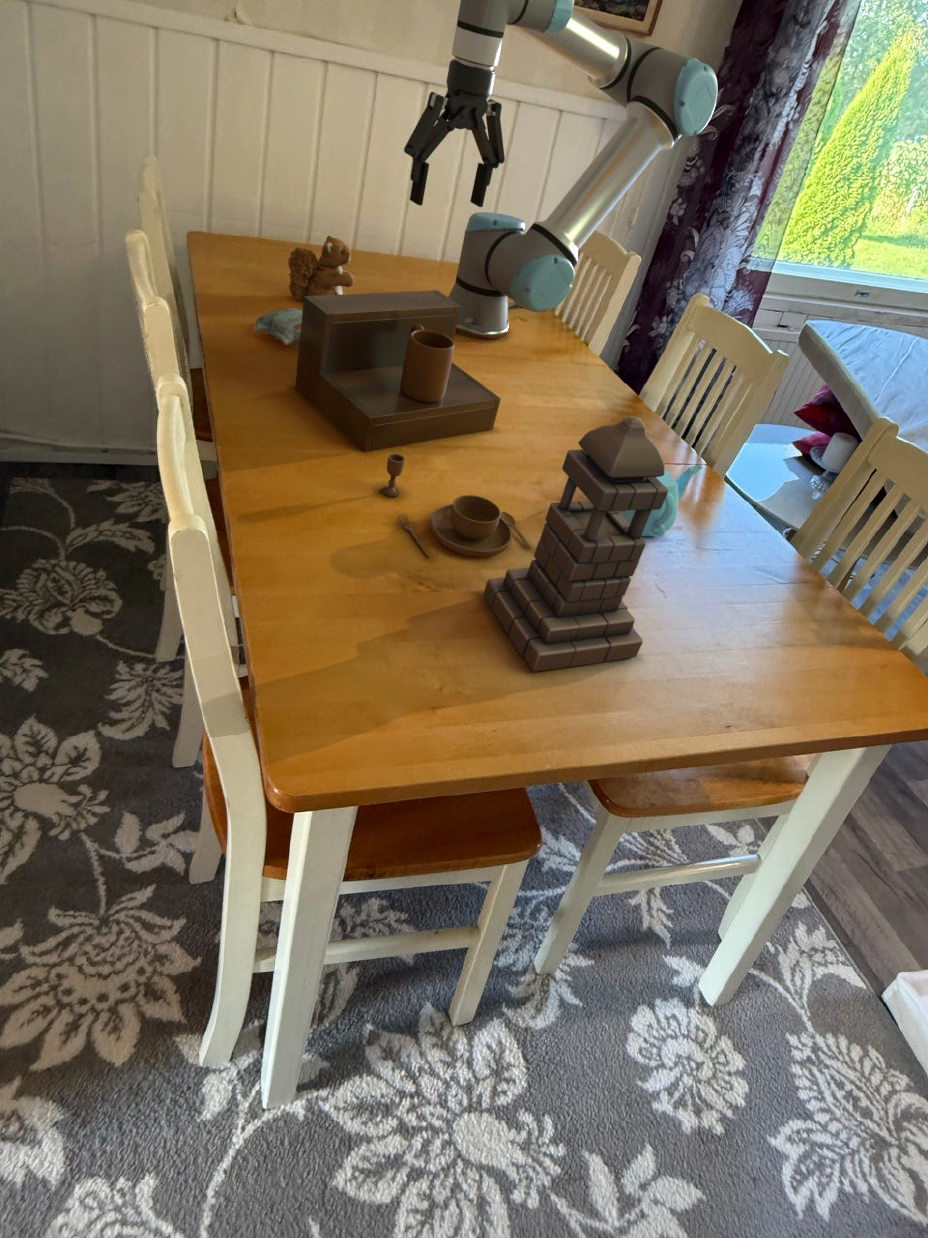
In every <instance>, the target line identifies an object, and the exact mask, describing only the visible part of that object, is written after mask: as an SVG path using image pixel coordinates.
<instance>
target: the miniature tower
mask: <svg viewBox="0 0 928 1238" xmlns="http://www.w3.org/2000/svg"><path fill="white" fill-rule="evenodd" d="M647 434H648V433H647V431H646V425H645V423H644V421H643V420H642V419H641V418H640V417H638V416H626V417H625V418H623V419H622V420H621V421H619V422H618V423H614V424H605V425H601V426H599V427H596V428H593V429H591V430H589V431H587V432H586V433H585V434H584V435H583V436H582V437H581V438H580V440H578V442H577V443H578V445H579V446H580V449H569V450H568V451H567V452H566V455H565V459H564V461H563V464H562V467H561V469H562V471H563V473H565V475H566V476H567V480H566V483H565V485H564V489H563V492H562V495H561V498H560V500H559V502H551V503H550V504H549V507H548V510H547V514H546V516H545V524H544V525H543V529H542V532H541V534H540V537H539V540H538V542H537V545H536V547H535V551H534V553H533V557H534V558H535V559H531V562H530V565H529V566H528V567H516V568H507V570H506V572H505V575H504V576H503V577H502V576H501V577H493V578H488V579H487V581H486V584H485V587H484V591H483V594H482V597H483V598H484V600H485V601H486V603H487V604H488V606H489V607H490V608H491V610H492V612H493V614H494V616H495V617H496V618H497V620H498V622H499V623H500V624H501V626H502V628H503V629H504V631H505V633H506V634H507V636H508V637H509V639H510V640H511V642H512V643H513V645H514V647H515V648H516V650H517V651H518V653H519V655H520V656H521V657H523V659H524V660H525V661H526V663H527V665H528V666H529V667H530V669H531V671H532V672H541V671H542V672H543V671H549V670H556V669H563V668H569V667H577V666H583V665H590V664H597V663H598V664H599V663H603V662H611V661H618V660H626V659H632V658H637V656H638V653H639V651H640V649H641V647H642V645H643V643H644V639H643V638H642V637H641V635H640V634H639V633H638V632H637V631H636V629H635V628H634V627H635V626H634V624H635V622H636V618H635V617H634V616H633V615H632V613H630V611H629V610H628V607H627V605H626V604H625V602H623V598H624V596H625V595H626V593H627V591H628V588H629V586H630V583H631V581H632V579H631V577H633V576H634V574H635V573H636V569H637V567H638V565H639V563H640V559H641V557H642V554H643V552H644V550H645V547H646V545H647V541H646V540H645V538H643V537H642V536H641V535H642V532H643V530H644V528H645V525H646V523H647V520H648V518H649V516H650V513H651V511H652V510H658V509H661V508H662V505H663V503H664V501H665V498H666V496H667V494H668V489H667V488H666V487H665V486H664V485H663V484H662V483H661V482H660V481H659V480H658V479H657V478H656V477H660V476H664V474H665V469H666V463H665V460H664V457H663V456H662V453H661V451H660V449H659V448H658V446H657V445H656V443H655V442H654V441H653V440H652V439H651V438H650V437H649V435H647ZM577 489H579V490H580V492H581V493H582V495H584V496H585V497H586V499H587V500H573V499H574V497H575V493H576V491H577ZM627 510H636V511H635V513H634V516H633V518H632V521H631V523H630V524H629V522H628V521H627V520H626V519H625V518H624V517H623V516H622V515H621V514H619V511H627Z"/></svg>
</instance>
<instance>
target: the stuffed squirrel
mask: <svg viewBox="0 0 928 1238" xmlns="http://www.w3.org/2000/svg"><path fill="white" fill-rule="evenodd" d="M289 254H290V257H289V258H288V260H287V261H288V263H287V264H288V267H289V272H290V273H288V275H289V279H290V281H289V285H288V290H289V292H290V294H291V295H292V297H294V299H296V301H297V302H301V303H303V302H304V296H321V295H344V294H345V292H343V287H346V288H350V287H352V286H353V285H354V284H355V277H354V275H353V274H352V273H351V272H350V271H347V270H345V269H343V267H344V266H347V265H348V267H349V268H351V260H352V254H353V252H352V249H351V248H350V247H349V245H348V244H346V243H345V241H343V240H341V239H339V238H336V237H333V236H332V235H327V236H326V239H325V241H324V243H323V245H322V248H321V255H320V257H319V259H318V258H317V255H316V251H315V250H312V249H310V248H309V247H308V248H306V247H304V248H303V247H301V246H300V247H298V246H296V247H295V248H294V250H292V251H290V253H289Z"/></svg>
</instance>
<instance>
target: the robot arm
mask: <svg viewBox="0 0 928 1238" xmlns="http://www.w3.org/2000/svg"><path fill="white" fill-rule="evenodd" d="M574 7H575V0H460V3H459V7H458V14H457V21H456V26H455V31H454V36H453V43H452V48H451V54H452V56H453V57H454V58H453V59H451V61H449V65H448V70H447V76H446V88H447V90H446V93H445V95H444V96H443V95H441V94H439V93H437V92H435V91H431V92H430V93H429V94H428V97H427V102H426V107H425V108H424V110H423V112H422V114H421V115H420V118H419V119H418V122H417V123H416V125H415V127H414V128H413V131H412V133H411V134H410V136H409V138H408V140H407V142H406V144H405V146H404V147H403V152H404V154H406V155H408V156H409V157H411V158H412V165H411V171H410V181H412V183H411V190H410V195H409V201H410V202H412V203H414V204H415V205H417V206H423V204H424V197H425V192H426V186H427V181H428V174H429V169H430V163H429V162H427V160H428V159H429V158H430V157H431V155H432V154H433V153H434V151H435V150H436V149H437V148H438V147H439V145H440V144H441V143H442V142H443V140H445V138H446V137H447V136H448V135H449V134H450V132H453V131H454V130H455V129H457V130H464V129H465V130H467V131H471V133H472V136H473V139H474V141H475V143H476V147H477V149H478V152H479V155H480V158H481V160H482V162H477V167H476V172H475V177H474V182H473V185H472V191H471V196H470V200H469V202H470V203H471V204H473V205H475V206H476V207H478V208H483V207H484V202H485V198H486V193H487V190H488V189H487V188H488V187H489V186H490V184H491V181H492V176H493V171H494V169H495V170H496V169H498V168H499V166H500V164H504V163H505V162H506V161H505V160H506V158H505V149H504V148H505V147H504V140H503V129H502V123H501V122H502V121H501V115H502V108H503V105H502V103H501V102H499V101H496V100H494V99H492V98H490V99H488V98H489V97H490V96H491V95H492V93H493V89H494V83H495V79H496V78H495V77H496V71H495V70H494V68H496V67H497V66H498V63H499V59H500V54H501V49H502V44H503V38H504V36H505V35H504V34H505V30H506V27H508V28H510V29H512V30H513V31H515V32H516V33H518V34H520V35H522V36H523V37H525V38H526V39H528V40H530V41H532V42H533V43H535V44H536V45H538V46H539V47H541V48H542V49H545V50H546V51H548V52H550V53H551V54H553V55H554V56H556V57H558V58H559V59H561V60H562V61H564V62H566V63H567V64H569V65H571V66H573V67H574V68H576V69H577V70H579V71H581V72H583V74H586V76H587V80H588V81H589V83H590V84H591V85H592V86H594V87H595V88H597V89H598V90H600V91H602V92H603V93H604V94H606V96H608V97H610V98H611V99H612V100H613V101H615V102H616V103H617V104H618V105H620V106H621V107H623V108H624V109H625V110H626V119H625V120H624V122H622V124H621V125H620V126H619V128H618V129H617V130H616V131H615V132H614V134H613V135H612V136H611V138H610V139H609V140H608V142H606V144H605V145H604V147H603V148H602V149H601V150H600V152H598V153H597V155H596V156H595V158H594V159H593V160H592V162H591V163H590V164H589V165H588V166H587V167H586V169H585V170H584V171H583V173H582V174H581V175H580V176H579V178H578V179H577V180H576V181H575V183H574V184H573V185H572V187H571V188H570V189H569V190H568V192H567V193H566V194H565V196H564V197H563V198H562V199H561V200H560V201H559V202H558V204H557V205H556V207H555V208H554V209H553V211H552V212H551V213H550V214H549V216H548V217H547V218H546V219H545V220H542V221H541V220H540V221H534V222H533V223H532V224H531V226H530V227H529V228H528V229H527V230H526V222H525V221H524V220H523V219H521V218H518V217H516V216H513V215H507V214H503V213H498V212H497V213H496V212H488V211H479V212H474V213H472V214H471V215H470V216H469V218H468V221H467V225H466V228H465V230H464V235H463V241H462V246H461V250H460V256H459V261H458V266H457V272H456V277H455V281H454V285H453V286H452V288H451V290H450V292H449V294H448V296H447V297H448V298H450V299H451V300H453V301H454V302H456V303H457V304H459V305H460V306H461V308H460V313H459V317H458V322H457V327H456V331H455V333H457V334H460V335H463V336H467V337H468V338H469V337H470V338H474V339H478V340H479V339H480V340H489V341H490V340H491V341H492V340H500V339H502V338H505V337H506V336H507V334H508V331H509V327H510V320H509V308H513V307H522V308H524V309H526V310H528V311H529V312H533V313H542V312H543V313H545V312H548V311H551V310H553V309H555V308H556V307H557V306H559V305H560V304H561V303H563V302H564V300H565V299H566V298H567V297H568V295H569V293H570V292H571V290H572V288H573V284H572V283H574V282H575V267H576V266H577V265H578V263H579V257H578V252H579V250H580V249H581V248H582V246H583V245H584V244H585V243H586V241H587V240H588V239H589V238H590V237H591V236H592V235H593V233H594V232H595V231H596V230H597V228H598V227H599V225H601V223H602V222H603V220H605V218H606V217H607V216H608V214H609V213H610V212H611V211H612V209H614V207H615V206H616V205H617V204H618V202H619V201H620V200H621V198H622V197H623V196H624V195H625V193H626V192H627V191H628V190H629V188H631V186H632V185H633V184H634V182H635V181H636V180H637V179H638V177H639V176H640V175H641V174H642V172H643V171H644V170H645V169H646V168H647V166H648V165H649V164H650V162H651V161H652V160H653V159H654V158H655V156H656V155H658V153H659V152H660V151H669V150H671V149H672V148H673V147H674V145H675V144H676V143H677V142H678V141H679V139H680V138H681V137H693V136H696V135H698V134H700V133H701V132H702V131H703V130H704V129H705V128H706V126H708V123H709V122H710V120H711V118H712V116H713V114H714V111H715V108H716V105H717V98H718V94H719V93H718V92H719V91H718V89H719V88H718V86H719V85H718V79H717V76H716V73H715V71H714V70H713V68H712V67H711V66H710V65H708V64H706V63H704V62H701V61H700V60H699V59H698V58H697V57H689V56H686V55H682V54H680V53H676V52H675V51H672V50H668V49H666V48H664V47H661V46H658V45H655V44H650V43H647V42H643V41H639V40H636V39H634V38H631V37H628V36H626V35H625V34H623V33H622V32H620V31H617V30H610V31H607V30H606V29H605V28H603V27H601V26H600V25H598V24H597V23H595V22H594V21H592V20H591V19H589V18H588V17H586V16H585V15H583V14H582V13H581V12H579V11H577V10H576V9H574ZM484 116H485V120H486V121H484ZM485 122H486V123H485ZM525 230H526V232H525ZM509 299H510V300H512V301H513V302H511V303H509V301H508V300H509Z"/></svg>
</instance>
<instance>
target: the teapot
mask: <svg viewBox="0 0 928 1238" xmlns="http://www.w3.org/2000/svg"><path fill="white" fill-rule="evenodd" d="M702 469H703V466H701V465H692V466H690V467H688V468H687V469H685V470H684V471H683V473H681V474H680V476H679V477H678V478H677V479H676V478H675V477H674V476H673V475H672V473H671V472H670V471H668V470H667V469H666V468H665V474H664V476H660V477H656V478H657V479H658V480H659V481H660V482H661V483H662V484H663V485H664V486H665V487H666V488H667V489H668V494H667V496H666V498H665V501H664V503H663V505H662V508H661V509H658V510H652V511H651V513H650V516H649V518H648V520H647V523H646V525H645V528H644V530H643V532H642V535H641V537H642V536H644V537H645V536H648V537H652V538H657V537H658V538H660V537H663V536H664V535H665V534H666V532H667V531H668V530H670V529H671V528H672V527H673V526H674V524H675V522H676V519H677V516H678V513H679V502H680V501H681V500H682V498H683V496H684V495H685V493H686V490H687V488H688V486H689V483H690V481H691V479H692V478H693V477H694V475H695V474H696V473H698V472H700V471H701V470H702ZM635 511H636V510H627V511H619V514H621V515H622V516H623V517H624V518H625V519H626V520H627V521H628V522H629V524H630V523H631V521H632V518H633V516H634V513H635Z"/></svg>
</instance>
